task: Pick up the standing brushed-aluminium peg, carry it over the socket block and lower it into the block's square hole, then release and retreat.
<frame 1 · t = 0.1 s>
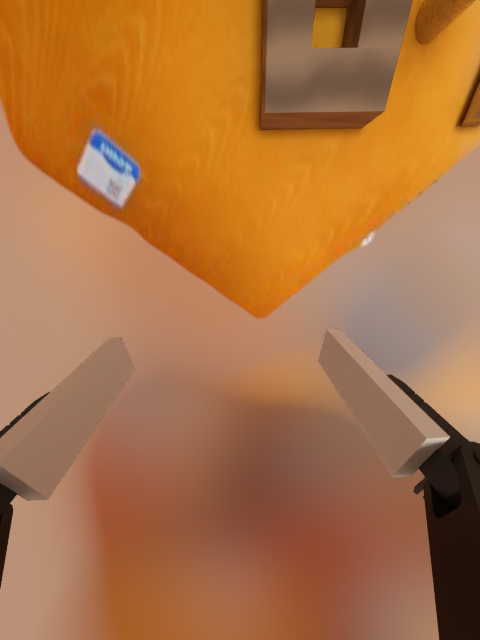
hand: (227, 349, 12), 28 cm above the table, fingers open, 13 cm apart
socket block: (321, 44, 23), on the table
peg: (431, 18, 22), on the table
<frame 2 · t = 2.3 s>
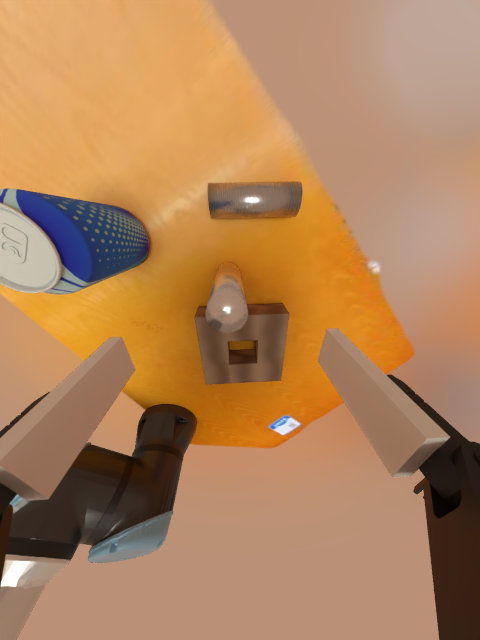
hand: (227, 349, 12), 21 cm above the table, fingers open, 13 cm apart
socket block: (241, 339, 37), on the table
beer can: (125, 238, 27), on the table
peg: (228, 273, 30), on the table
lying peg: (252, 196, 25), on the table, tilted 20°
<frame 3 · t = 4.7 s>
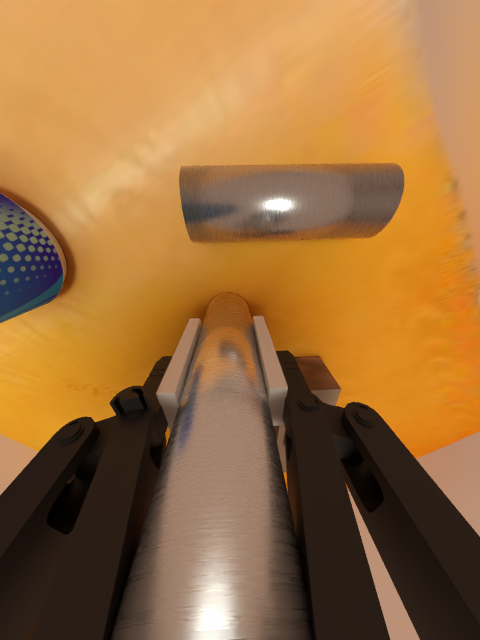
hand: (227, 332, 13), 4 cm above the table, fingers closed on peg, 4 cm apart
socket block: (248, 405, 23), on the table
beer can: (18, 249, 14), on the table
peg: (228, 312, 17), on the table, touching gripper
lying peg: (285, 167, 10), point 2 cm above the table, tilted 82°
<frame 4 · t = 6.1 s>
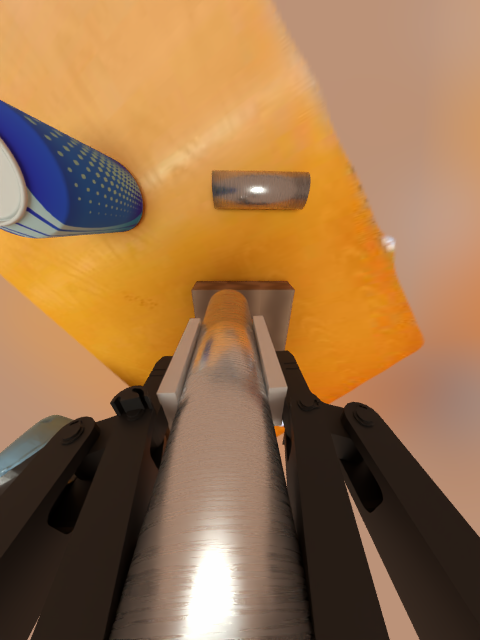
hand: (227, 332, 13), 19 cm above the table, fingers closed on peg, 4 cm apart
socket block: (241, 320, 35), on the table
beer can: (116, 198, 25), on the table
peg: (228, 308, 17), point 15 cm above the table, touching gripper
lying peg: (261, 173, 21), point 3 cm above the table, tilted 128°
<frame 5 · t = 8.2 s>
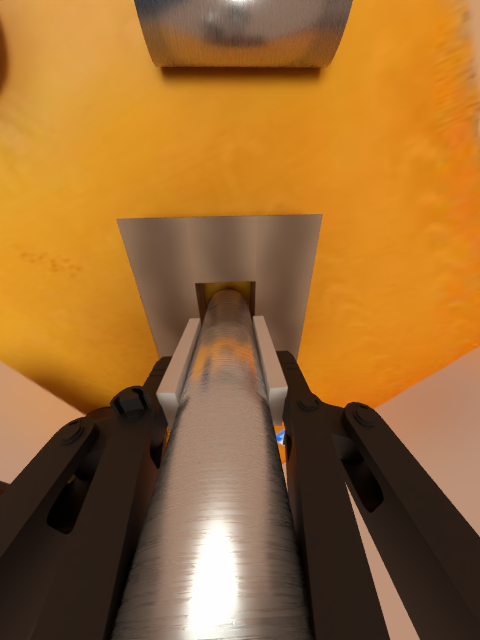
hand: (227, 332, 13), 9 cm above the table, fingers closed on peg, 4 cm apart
socket block: (227, 294, 21), on the table
peg: (228, 308, 17), point 4 cm above the table, touching gripper
when the fingers open (6 cm above the table, at t = 8.9 s): peg drops 2 cm, resting in socket block.
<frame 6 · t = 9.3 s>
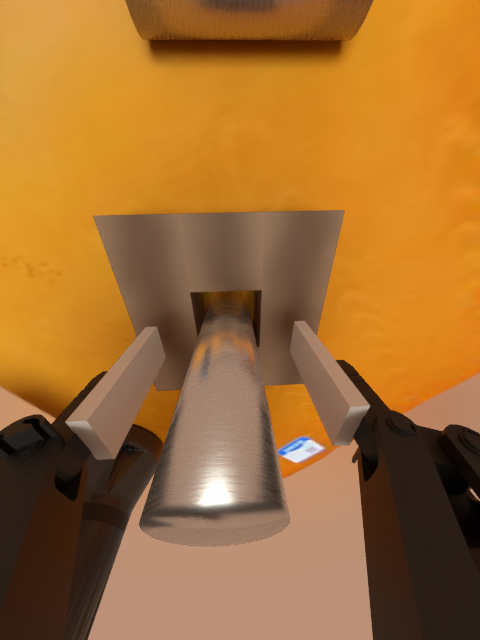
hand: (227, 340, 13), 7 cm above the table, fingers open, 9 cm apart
socket block: (228, 302, 19), on the table
peg: (229, 302, 19), resting in socket block
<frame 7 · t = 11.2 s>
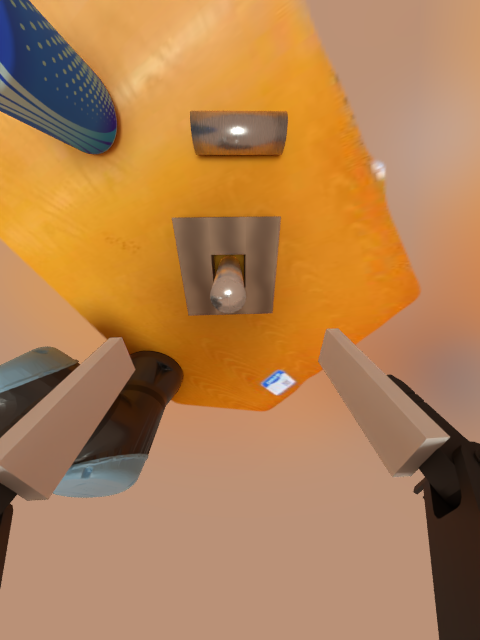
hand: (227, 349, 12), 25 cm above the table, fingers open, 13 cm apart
socket block: (229, 266, 33), on the table
beer can: (90, 116, 23), on the table
peg: (229, 266, 33), resting in socket block
lying peg: (239, 143, 23), point 3 cm above the table, tilted 137°
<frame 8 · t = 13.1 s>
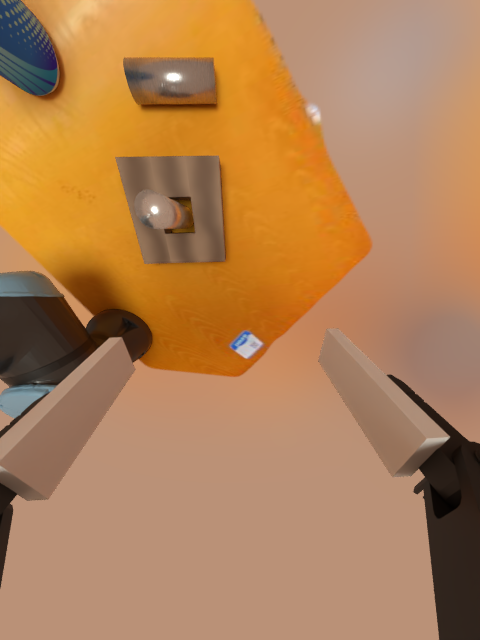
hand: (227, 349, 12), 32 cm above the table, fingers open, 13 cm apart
socket block: (183, 217, 35), on the table
beer can: (33, 59, 25), on the table
peg: (183, 217, 35), resting in socket block
lying peg: (174, 98, 26), point 3 cm above the table, tilted 112°
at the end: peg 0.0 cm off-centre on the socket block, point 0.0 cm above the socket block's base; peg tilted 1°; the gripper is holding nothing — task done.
